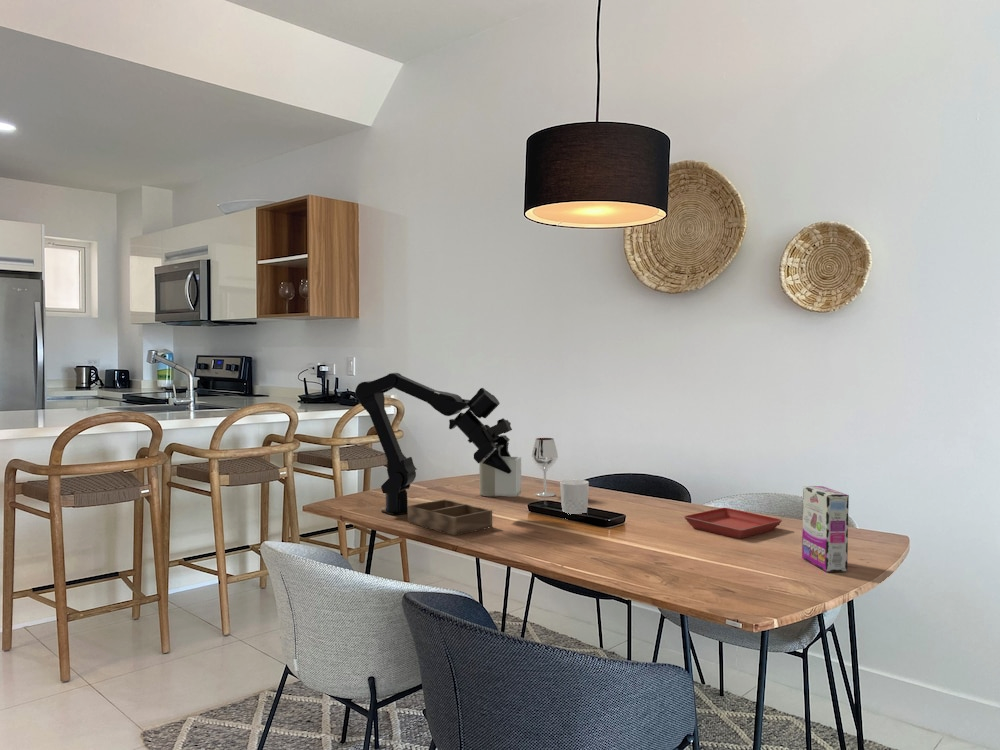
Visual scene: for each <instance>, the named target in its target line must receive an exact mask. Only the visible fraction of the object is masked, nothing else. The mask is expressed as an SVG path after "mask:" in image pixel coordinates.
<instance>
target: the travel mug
mask: <svg viewBox="0 0 1000 750" xmlns="http://www.w3.org/2000/svg"><path fill="white" fill-rule="evenodd" d="M485 460H486V459H485V458H484V459H483V460H482V462H481V463H479V465H478V467H479V468H478V470H479V473H478V475H479V476H478V477H479V478H478V479H479V495H480V496H482V497H485V496H486V498H490V497H491V498H495V497H496V498H497V497H499V496H495V468H494V467H491V466H489V465H486V464H483V462H484V461H485Z"/></svg>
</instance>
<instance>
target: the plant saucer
mask: <svg viewBox="0 0 1000 750" xmlns="http://www.w3.org/2000/svg"><path fill="white" fill-rule="evenodd" d="M683 517H684V520H686V521H687V523H688V524H689V525H690V526H691V527H692V528H693V529H697V530H700V531H701V530H702V531H705V532H710V533H713V534H717V535H723V536H726V537H730V538H734V539H743V538H744V539H745V538H747V537H751V536H756V535H759V534H760V535H761V534H763V533H767V532H770V531H773V530H775V529H776V528H777V527H778V526H779V525H780V524H781V523H782V521H783V519H782V518H781V519H780V518H776V517H772V516H767V515H763V514H758V513H753V512H749V511H743V510H740V509H733V508H729V507H720V508H716V509H711V510H706V511H701V512H698V513H692V514H688V515H684V516H683Z"/></svg>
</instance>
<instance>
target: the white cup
mask: <svg viewBox="0 0 1000 750" xmlns="http://www.w3.org/2000/svg"><path fill="white" fill-rule="evenodd" d="M589 483H590V482H589V481H588V480H586V479H585V480H584V479H576V478H575V479H564V480H561V481H560V482H559V485H560V486H559V487H560V501H561V508H562V509H561V510H562V511H563V512H565V513H567V514H568V513H569V514H570V515H571V514H582V513H587V514H588V506H589V505H588V504H589V485H590V484H589ZM569 514H568V515H569ZM565 520H567V519H566V518H565Z"/></svg>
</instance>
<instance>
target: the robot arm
mask: <svg viewBox="0 0 1000 750" xmlns="http://www.w3.org/2000/svg"><path fill="white" fill-rule="evenodd" d="M393 389H396V390H398V391H400V392H402V393H405V394H407V395H409V396H411V397H414V398H416V399H418V400H421V401H423V402H426V404H428V405H430V406H431V407H432V408H433V409H434V410H435V411H437V412H438V413H440V414H441V415H443V416H445V417H451V416H455V415H457V416H456V417H455V418H451V419H449V420H448V422H449V425H448V426H449V427H448V429H449V430H454V429H455V428H456V427H457V428H458V429H459V430H460V431H461V432H462V433H463V435H465V436H466V437H467V438H468V439H467V442H468V443H469V444H471V443H472V444H473V445H474V446H475V448H477V450H476V451H475V452H474V453H473V459H474V461H475V462H476V463H477V464H479V463H481V462H482V460H483V459H484V458H485V459H486V460H485V461H484V462H483V464H486V465H489V466H491V467H494V468H496V469H499V470H501V471H503V472H506V473H508V474H509V473H510V472H511V469H510V468H509V466H508V465H507V463H506V462H505V461H504V459H503V458H502V456H505V457H512V456H511V454H510V452H509V444H510V443H509V442H510V438H509V437H508V436H507V435H506V434H507V433H508V432H511V431H512V430H513V428H512V427H511V422H510V421H509V420H508V419H505V418H504V417H503V418H499V419H498V420H496V421H497V423H496V424H495V425H492V426H490V425H489V424H484V423H483V422H481V420H480V419H482V418H483V419H487V418H488V417H489V416H490V415H491V414H492V412H494V411H495V410H496V408H498V407H499V405H500V401H499V399H497V397H496V396H495V395H494V394H492V393H491V392H489V391H488V390H487V389H486V388H484V387H481V388H479V389H478V391H477V392H476V393H475V395H474V396H472V398H471V399H465V398H462V397H461V395H458V394H456V393H451V392H447V391H440V390H437V389H434V388H432V387H430V386H427V385H424V384H423V383H420V382H417V381H415V380H413V379H410V378H408V377H406V376H403V375H402V374H401V373H399V372H391V373H387V375H384V376H382V377H380V378H377V379H374V380H368V381H363V382H360V383H358V384H357V386H356V388H355V391H354V393H355V397H356V398H357V400H358V402H359V404H360V406H361V407H362V408H363V409H364V410H365V411H366V412H367V413H368V415H369V417H370V419H371V421H372V424H373V427H374V429H375V432H376V434H377V437H378V440H379V442H380V445H381V447H382V451H383V452H384V454H385V458H386V471H387V472H386V473H387V477H388V479H387V480H385V481H384V483H382V484H381V485H380V488H381V491H382V494H385V509H381V512H382V513H384V514H388V515H392V516H397V515H401V514H406V513H407V514H408V506H409V505H408V491H407V490H409V489H410V487H411V484H412V483H413V482H414V481H415V480H416V476H417V473H416V470H418V469H417V468H416V466H415V464H414V462H413V457H412V456H409V457H407V456H405V454H404V453H403V452H402V449H401V445H400V444H399V441H398V439H397V436H396V435H395V431H394V429H393V426H392V424H391V421H390V419H389V415H388V414H387V411H386V409H385V403H386V402H385V393H387V392H389V391H391V390H393ZM465 409H467V410H466V411H465V412H462V411H463V410H465ZM502 434H503V435H502ZM504 434H505V435H504Z"/></svg>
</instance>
